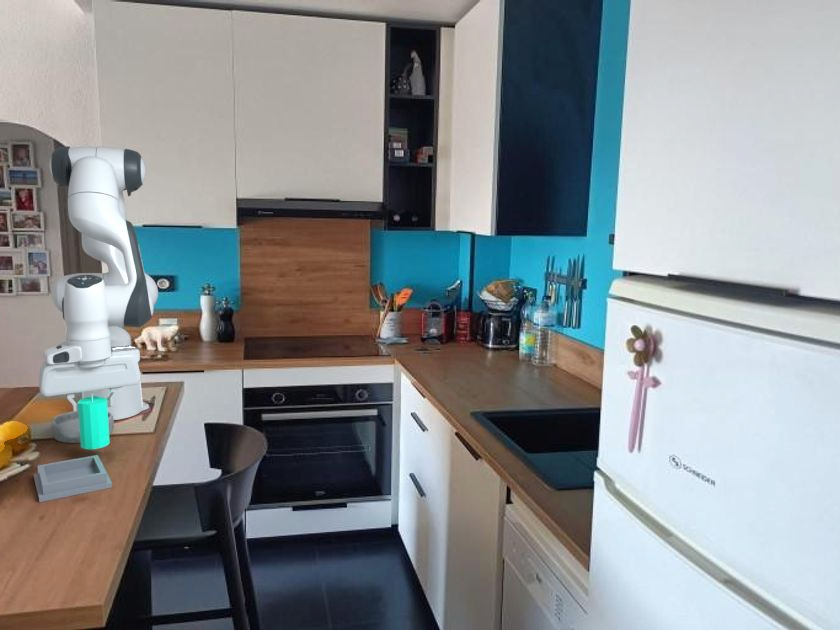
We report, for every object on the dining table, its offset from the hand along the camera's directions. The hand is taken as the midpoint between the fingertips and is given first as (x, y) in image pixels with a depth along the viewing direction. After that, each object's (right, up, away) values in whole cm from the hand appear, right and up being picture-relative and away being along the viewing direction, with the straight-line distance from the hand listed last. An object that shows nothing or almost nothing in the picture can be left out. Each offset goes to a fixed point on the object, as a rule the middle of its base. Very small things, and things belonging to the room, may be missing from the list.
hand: (93, 408), depth 147 cm
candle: (0, -8, +1) cm, 9 cm away
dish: (-11, -9, +17) cm, 22 cm away
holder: (+1, -14, -11) cm, 18 cm away
